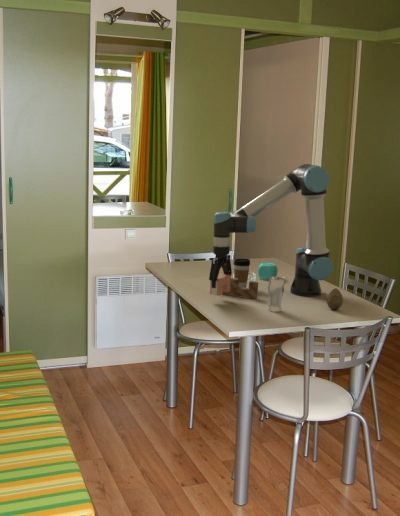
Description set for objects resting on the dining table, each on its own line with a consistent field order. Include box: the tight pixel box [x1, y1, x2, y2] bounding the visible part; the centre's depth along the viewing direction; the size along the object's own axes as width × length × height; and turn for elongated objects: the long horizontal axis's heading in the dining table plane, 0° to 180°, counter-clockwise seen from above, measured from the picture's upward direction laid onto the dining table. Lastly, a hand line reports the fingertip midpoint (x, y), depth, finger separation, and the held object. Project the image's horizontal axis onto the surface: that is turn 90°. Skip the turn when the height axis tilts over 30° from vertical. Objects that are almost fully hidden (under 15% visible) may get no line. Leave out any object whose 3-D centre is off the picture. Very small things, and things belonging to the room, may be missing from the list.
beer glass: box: [267, 276, 285, 313], centre depth 309 cm, size 7×7×15 cm
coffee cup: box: [233, 258, 251, 288], centre depth 348 cm, size 8×8×15 cm
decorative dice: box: [257, 262, 279, 281], centre depth 373 cm, size 8×8×8 cm
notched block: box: [209, 273, 232, 297], centre depth 322 cm, size 10×5×8 cm, turn 149°
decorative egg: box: [326, 288, 344, 311], centre depth 315 cm, size 7×7×10 cm
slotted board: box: [223, 276, 259, 300], centre depth 335 cm, size 22×2×8 cm, turn 59°
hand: (220, 292), depth 323 cm, fingers closed on notched block, 10 cm apart
